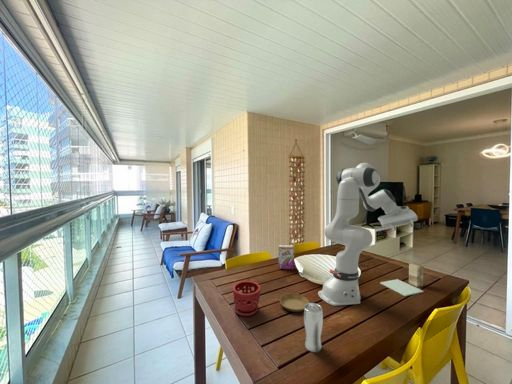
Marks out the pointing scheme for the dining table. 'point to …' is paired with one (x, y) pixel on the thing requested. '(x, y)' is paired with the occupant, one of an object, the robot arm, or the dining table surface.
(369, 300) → the dining table surface
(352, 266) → the robot arm
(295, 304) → the plant saucer
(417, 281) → the maple block
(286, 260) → the candy bar box
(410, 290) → the sage mat
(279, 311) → the dining table surface
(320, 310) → the beer glass
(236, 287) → the plant pot
